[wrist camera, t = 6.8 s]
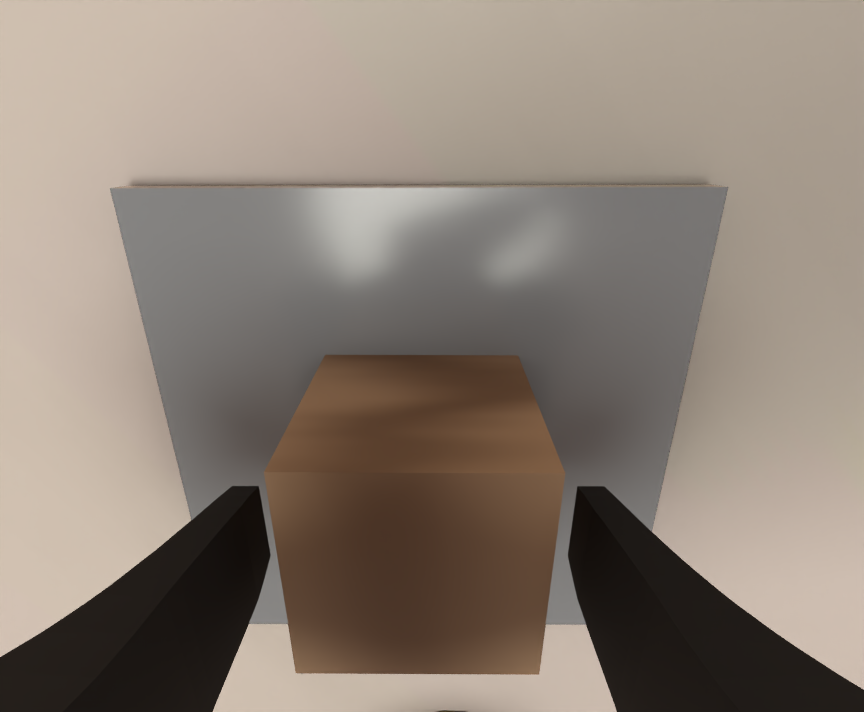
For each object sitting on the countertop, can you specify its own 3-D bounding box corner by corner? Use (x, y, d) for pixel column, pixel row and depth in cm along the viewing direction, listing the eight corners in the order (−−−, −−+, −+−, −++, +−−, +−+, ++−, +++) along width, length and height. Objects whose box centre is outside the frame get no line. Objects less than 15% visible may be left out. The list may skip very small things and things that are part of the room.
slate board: (710, 184, 12) (728, 186, 11) (622, 604, 17) (631, 624, 17) (130, 185, 12) (110, 188, 11) (226, 603, 17) (216, 623, 17)
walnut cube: (517, 355, 13) (565, 473, 8) (506, 509, 15) (538, 674, 10) (325, 354, 13) (264, 472, 8) (339, 508, 15) (295, 673, 10)
